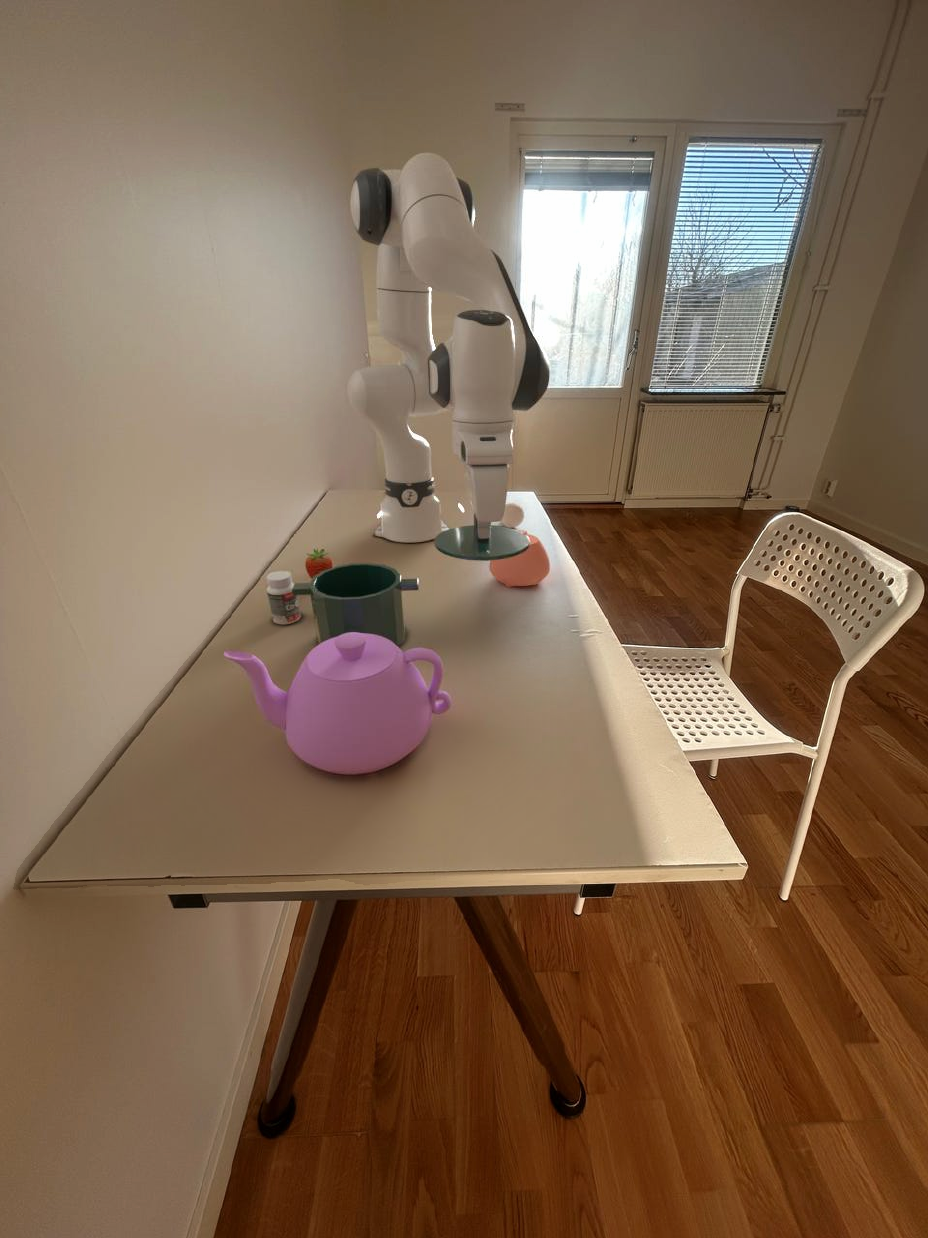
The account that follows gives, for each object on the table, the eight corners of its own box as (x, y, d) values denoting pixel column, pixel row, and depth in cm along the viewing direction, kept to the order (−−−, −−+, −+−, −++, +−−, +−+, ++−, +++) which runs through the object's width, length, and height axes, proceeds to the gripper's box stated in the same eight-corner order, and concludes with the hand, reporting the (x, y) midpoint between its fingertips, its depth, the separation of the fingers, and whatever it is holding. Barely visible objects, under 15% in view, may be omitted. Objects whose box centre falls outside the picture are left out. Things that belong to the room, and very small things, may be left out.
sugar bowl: (496, 593, 100) (497, 543, 95) (482, 566, 112) (483, 521, 107) (556, 589, 101) (561, 540, 97) (536, 563, 114) (539, 518, 109)
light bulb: (514, 528, 143) (524, 530, 133) (491, 525, 142) (500, 526, 131) (518, 504, 142) (529, 504, 131) (495, 501, 141) (504, 500, 130)
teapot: (440, 681, 74) (437, 595, 68) (465, 769, 59) (464, 669, 52) (259, 703, 70) (237, 614, 63) (234, 804, 54) (202, 700, 48)
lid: (433, 533, 88) (432, 503, 85) (520, 530, 89) (521, 500, 86) (436, 566, 74) (435, 532, 72) (538, 562, 76) (540, 528, 73)
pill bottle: (292, 626, 89) (284, 582, 85) (267, 623, 90) (258, 579, 86) (305, 613, 93) (298, 571, 89) (281, 611, 94) (273, 569, 90)
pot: (310, 620, 91) (301, 565, 86) (420, 615, 92) (417, 560, 87) (294, 663, 78) (282, 602, 73) (421, 657, 80) (418, 596, 75)
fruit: (303, 587, 103) (297, 550, 99) (320, 578, 107) (314, 541, 103) (324, 592, 101) (319, 554, 97) (341, 582, 105) (336, 545, 101)
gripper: (455, 430, 83) (457, 514, 89) (467, 454, 65) (467, 556, 71) (494, 429, 83) (493, 513, 90) (516, 453, 65) (512, 555, 72)
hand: (481, 533), depth 81 cm, fingers closed on lid, 2 cm apart
